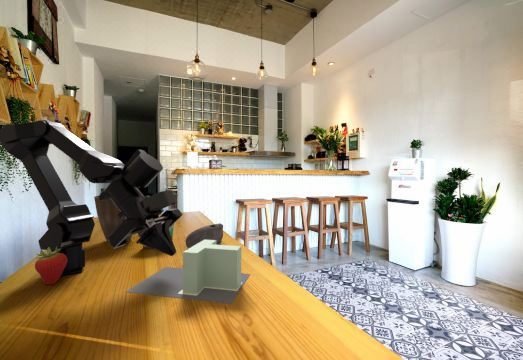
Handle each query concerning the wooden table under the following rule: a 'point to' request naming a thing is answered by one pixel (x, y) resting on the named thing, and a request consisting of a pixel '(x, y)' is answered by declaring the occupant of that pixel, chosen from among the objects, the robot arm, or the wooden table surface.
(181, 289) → the mat
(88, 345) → the wooden table surface
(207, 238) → the perforated stone tool
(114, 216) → the plant pot
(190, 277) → the t block
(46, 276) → the fruit
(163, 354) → the wooden table surface
